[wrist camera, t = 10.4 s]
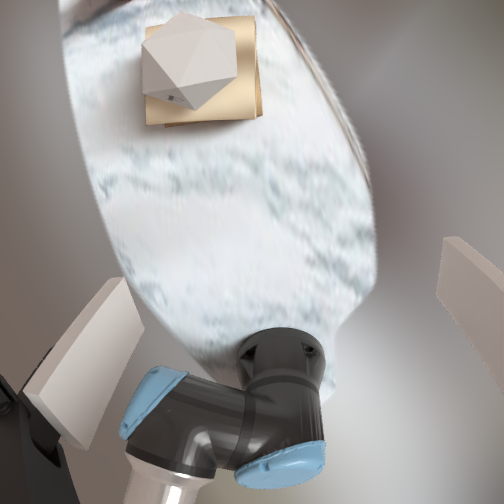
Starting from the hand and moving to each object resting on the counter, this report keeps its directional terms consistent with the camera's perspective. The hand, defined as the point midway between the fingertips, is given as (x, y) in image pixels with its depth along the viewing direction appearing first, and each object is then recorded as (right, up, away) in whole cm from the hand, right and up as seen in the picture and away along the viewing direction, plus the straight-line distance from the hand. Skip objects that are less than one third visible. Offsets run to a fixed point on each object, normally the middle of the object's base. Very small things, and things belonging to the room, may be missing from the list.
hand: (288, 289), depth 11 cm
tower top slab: (-6, +21, +17) cm, 28 cm away
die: (-6, +19, +13) cm, 24 cm away
